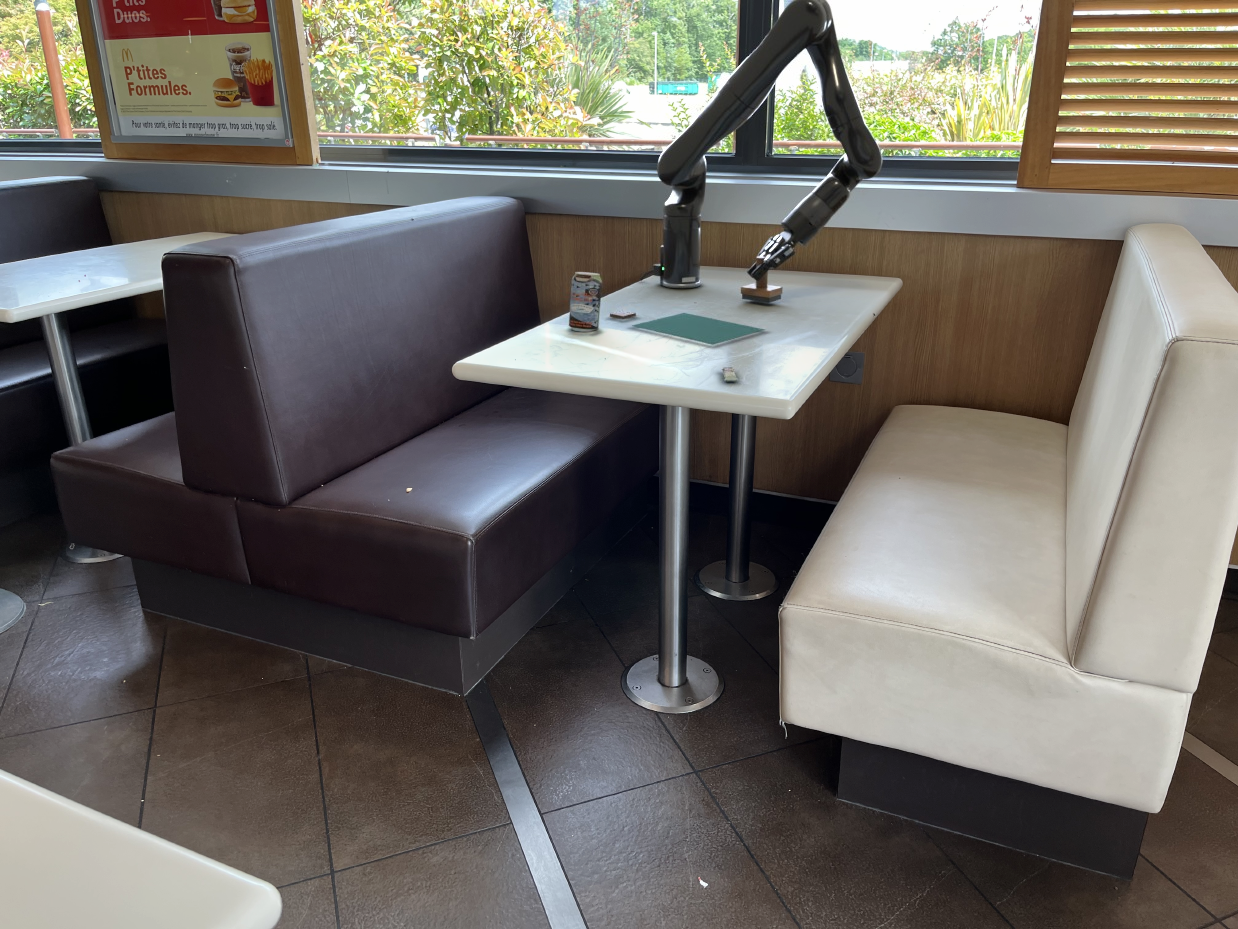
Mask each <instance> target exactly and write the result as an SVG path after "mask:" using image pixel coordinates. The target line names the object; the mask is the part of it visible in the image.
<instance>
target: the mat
mask: <svg viewBox="0 0 1238 929" xmlns="http://www.w3.org/2000/svg"><path fill="white" fill-rule="evenodd" d="M631 327H635V328H639V329H644V330H648V331H653V332H656V333H660V334H665V335H668V336H673V337H678V338H682V339H687V340H690V341H695V342H699V343H704V344H707V345H708V344H709V345H716V344H720V343H724V342H727V341H732V340H735V339H738V338H741V337H746V336H748V335H752V334H756V333H759V332H762V331H765V330H766V329H764V328H761V327H755V326H750V325H745V324H742V323H741V324H740V323H735V322H731V321H727V320H721V319H717V318H712V317H706V316H701V315H697V314H696V315H695V314H692V313H688V312H682V313H678V314H673V315H670V316H665V317H661V318H657V319H653V320H648V321H645V322H640V323H637V324H633V325H631Z"/></svg>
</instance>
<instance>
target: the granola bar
mask: <svg viewBox="0 0 1238 929" xmlns="http://www.w3.org/2000/svg"><path fill="white" fill-rule="evenodd" d="M734 370H735V368H733V367H731V366H725V367H722V368H721V371H722V374H723V377H724V379H723V380H724V381H725V382H737V381H738V380H739V379H738V377H737V376H736V373H735V371H734Z"/></svg>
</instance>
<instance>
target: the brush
mask: <svg viewBox="0 0 1238 929" xmlns="http://www.w3.org/2000/svg"><path fill="white" fill-rule="evenodd" d="M766 257H767V255H766V256H758V255H757V256H756V257H755V258H756V260H755V262H756V268H757V267H758V266H759V265H760V264H761V263H763V261H764V259H765V258H766ZM768 274H769V270H768V271H767V272H766V273H765V274H764V275H763V276H762V277H761V278H760V280H758V281H756V280H755V282H753V283H750V284H746V285H743V286H740V294H741V299H742V300H747V301H755V302H761V303H769V304H770V303H773V302H776V301H779V300H782V295H783V289H784V288H783V286H778V285H771V284H768V282H769V281H768V277H769V276H768Z"/></svg>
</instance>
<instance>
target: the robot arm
mask: <svg viewBox="0 0 1238 929" xmlns="http://www.w3.org/2000/svg"><path fill="white" fill-rule="evenodd" d="M831 8H832V7H831V5H830V3H829V2H828V1H827V0H792V1H790V2H789V3H788V4H787V5H786V6H785V8H784V9H783V11H782V12H781V14H780V15H779V17H778V18H777V20H776V21H775V23H774V24H773V26H772V27H771V28H770V30H769V32H768V33H767V34H766V35H765V37H764V39H763V40H762V41H761V42H760V44H759V45H758V46H757V47H756V49H754V50H753V51H752V53H750V54H749V56H747V57H746V58H745V59H744V60H743V61H742V62H741V63H740V65H739V66H738V67H737V68H736V69H734V71H733V72H732V73H731V74H730V75H729V77H727V79H726V80H725V81H724V82H723V84H722V85H721V86H720V87H719V89H718V90H717V91H716V92H715V93H714V95H713V96H712V98H711V99H710V100H709V101H708V102H707V103H706V105H705V106H704V107H703V108H702V109H701V111H700V112H699V113H698V115H697V116H696V117H695V118H694V120H692V122H691V123H690V124H689V125H688V127H686V129H685V130H684V131H683V132H682V133H681V134H679V136H677V137H676V138H675V139H674V140H673V141H672V142H671V143H670V144H669V145H668V146H666V148H665V149H664V150H663V151H662V152H661V154H660V156H659V158H658V161H657V165H656V173H657V176H658V178H659V180H660V181H661V182H662V184H664V185H666V186H668V187H671V192H670V195H669V197H668V198H667V200H666V201H665V202H664V203H663V206H662V207H663V208H662V209H663V211H662V213H663V214H662V215H663V216H662V218H663V219H662V222H663V224H662V228H663V229H662V236H663V237H662V245H661V246H660V247H659V263H655V264H653V265H652V269H649V270H648V271H646V272H644V273H643V275H642V276H641V277H640V278H639V281H643V280H644V279H645V278H646V277H647V276H648V275H650V274H652V276H654V277H659V285H662V286H664V288H665V287H666V288H670V289H691V288H693V289H694V288H697V287H699V286H701V248H702V247H701V242H702V241H701V240H702V238H701V237H702V209H703V208H702V207H703V205H704V203H705V199H706V187H707V186H706V185H707V160H706V157H705V155H706V154H707V153H708V152H709V151H710V150H711V149H712V148H713V147H714V146H715V145H717V144H718V143H720V142H721V141H723V140H724V139H725V138H727V137H729V136H730V135H731V134H733V133H734V132H736V130H737V129H739V128H741V127H742V126H743V125H744V124H745V123H746V122H747V121H748V120H749V119H750V118H751V117H752V115H753V114H754V113H755V112H756V111H757V110H758V109H759V108H760V106H761V105H762V104H763V103H764V101H765V100H766V99H767V97H768V96H769V94H770V92H771V91H772V89H773V88H774V85H776V82H777V81H778V79H779V77H780V76H781V75H782V73H783V71H784V70H786V68H787V67H788V66H789V65H790V64H791V63H792V62H793V61H794V60H795V59H796V58H797V57H798V56H799V55H800V54H801V53H802V52H803V51H806V53H807V54H808V56H809V58H810V61H811V63H812V66H813V70H814V73H815V77H816V81H817V85H818V93H819V98H820V102H821V106H822V110H823V112H824V116H825V118H826V121H827V123H828V127H829V129H830V130H831V133H832V136H833V137H834V139H835V140H836V141H838V142H839V143H840V144H841V146H842V148H843V151H844V154H843V155H842V156H841V157H840V159H839V160H838V161H837V163H836V164H835V165H834V166H833V168H832V169H831V170H830V172H829V173H828V174H827V176H826V177H825V178H824V179H823V180H822V181H820V183H819V184H818V185H817V186H815V188H814V189H813V190H812V191H811V192H810V193H809V194H808V195H807V196H805V197H804V198H803V199H802V200H801V201H800V202H799V203H798V204H797V205H796V206H795V207H794V208H793V209H792V210H791V211H790V212H789V213H788V214H787V216H786V217H785V218H784V219H783V220H782V221H781V223H780V224H781V227H782V228H783V231H782V232H780V234H776V235H775V236H774V237H773V236H771V237H769V238H768V239H767V241H766V242H765V244H764V245H763V247H762V248H761V249H760V251H759V252H758V254H757V257H758V256H767V257H766V258H765V259H764V261H763V263H761V264H760V265H759V266H758V267H757V268H756V261H755V262H754V263H753V264H752V265H751V267H749V268H748V269H747V271H746V273H747V275H748V276H749V277H750V278H752V279H754V281H755V282H756V281H758V280H760V278H761V277H762V276H763V275H764V274H765V273H766V272H767V271H768V272H769V271H770V270H772V269H774V270H775V269H777V268H779V267H780V266H781V265H782V264H784V263H785V262H786V261H788V260H789V259H790V258H791V257H793V256H794V255H795V254H796V250H794V248H796V246H797V244H799V245H800V246H802V247H804V246H806V245H808V244H809V242H811V240H813V239H814V238H815V237H816V235H817V234H819V232H820V231H821V230H822V229H823V228H824V227H825V226H826V225H827V224H828V223H829V221H830V220H831V219H832V217H833V216H834V215H835V214H837V212H838V211H839V210H840V209H841V208H842V207H843V206H844V205H845V204H846V203H847V201H848V200H849V199H850V197H851V192H852V191H854V189H855V188H856V187H857V186H858V185H859V184H860V183H861V182H862V181H863V180H871V179H873V178H874V177H876V176H877V175H878V174H879V173H880V172H881V169H882V166H883V154H882V152H881V149H880V147H879V145H878V142H877V140H876V139H875V137H874V135H873V133H872V132H871V130H870V128H869V127H868V125H867V124H866V121H865V118H864V115H863V113H862V110H861V107H860V105H859V103H858V102H859V101H858V99H857V96H856V94H855V91H854V89H853V86H852V84H851V81H850V79H849V75H848V72H847V70H846V67H845V64H844V60H843V57H842V53H841V49H840V45H839V41H838V36H837V32H836V27H835V21H834V17H833V11H832V9H831Z"/></svg>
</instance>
